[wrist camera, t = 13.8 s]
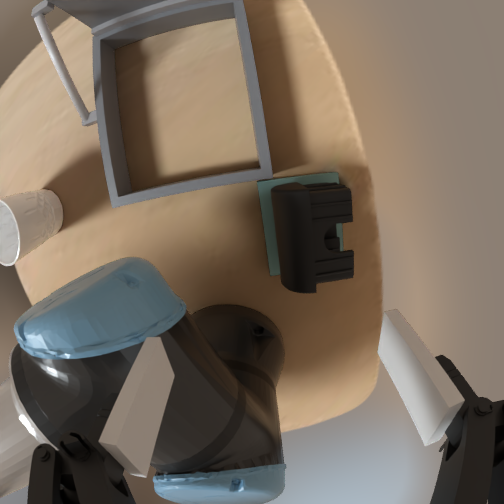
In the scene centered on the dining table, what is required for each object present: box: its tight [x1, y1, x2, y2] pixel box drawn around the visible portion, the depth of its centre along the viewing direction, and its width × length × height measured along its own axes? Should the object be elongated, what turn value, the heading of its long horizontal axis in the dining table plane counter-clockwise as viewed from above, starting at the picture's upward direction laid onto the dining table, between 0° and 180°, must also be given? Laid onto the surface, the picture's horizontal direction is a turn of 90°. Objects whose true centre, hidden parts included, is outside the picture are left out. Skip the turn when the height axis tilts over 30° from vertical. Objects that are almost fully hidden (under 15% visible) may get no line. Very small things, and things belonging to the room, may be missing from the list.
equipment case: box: [31, 0, 273, 208], centre depth 17 cm, size 23×19×21 cm
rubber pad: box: [257, 172, 343, 276], centre depth 31 cm, size 11×9×1 cm
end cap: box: [271, 182, 354, 293], centre depth 28 cm, size 10×7×7 cm
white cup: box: [0, 189, 63, 266], centre depth 26 cm, size 8×8×10 cm
